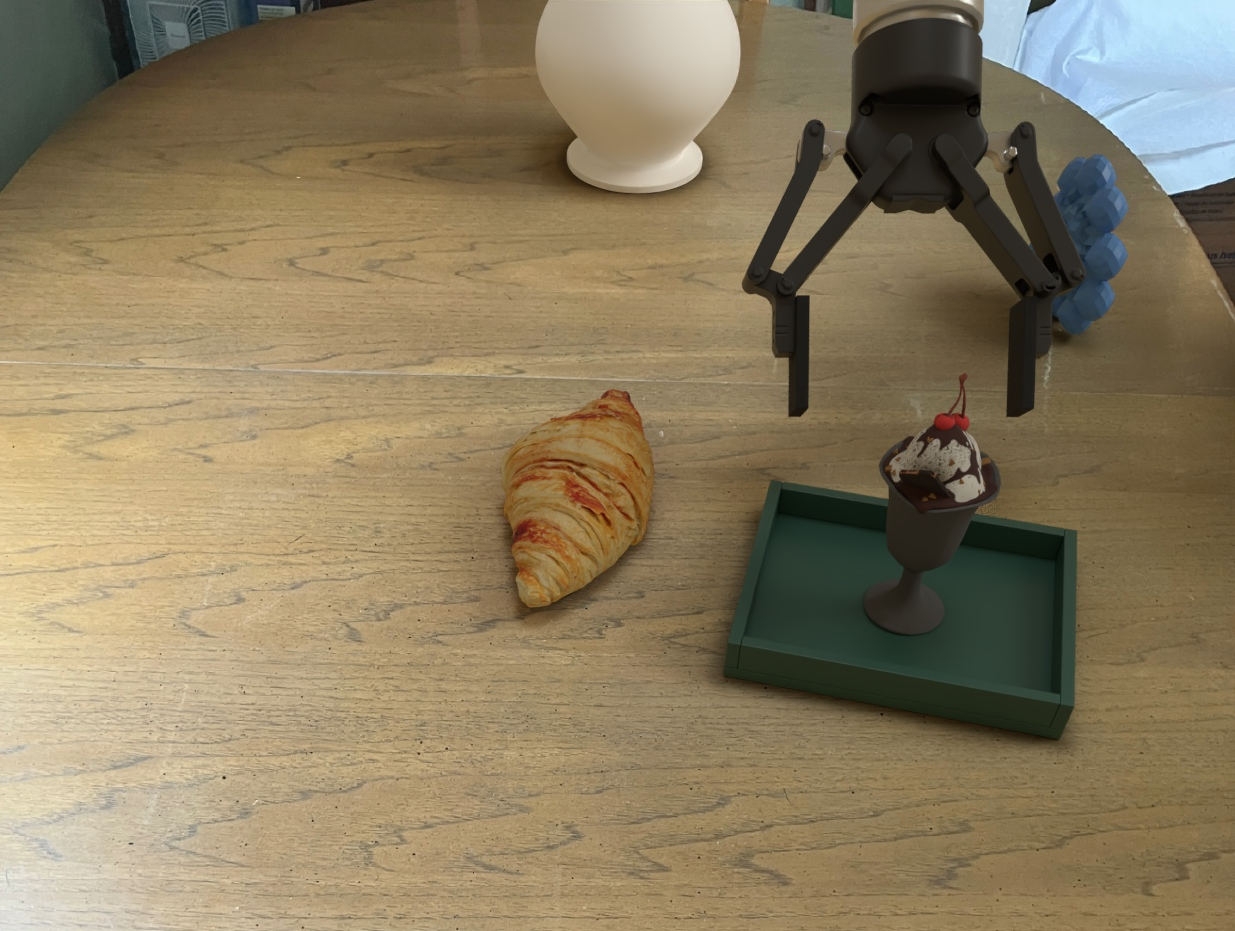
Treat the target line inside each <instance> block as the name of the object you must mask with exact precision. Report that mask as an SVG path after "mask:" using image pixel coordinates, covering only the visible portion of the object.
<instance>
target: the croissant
mask: <svg viewBox="0 0 1235 931" xmlns="http://www.w3.org/2000/svg"><path fill="white" fill-rule="evenodd" d="M549 419H550V420H548V421H546V422H544V423H542V424H539V425H538V426H536V427H534V428H532V430H531V431H530V432H529V433H526V434H525V435H523V436H521V437H520V438H518V439H517V441H515V443H514V444H513V445H512V446H511V448H510V449H509V450H507V451H506V452H505V454H504V455H503V457H502V459H501V462H500V465H499V472H500V477H501V478H500V486H501V488H502V490H503V492H504V494H505V499H504V505H503V517H505V518H506V519H507V521H508V523H509V524H510V527H511V530H512V532H513V534H512V542H511V550H510V551H511V555H512V557H513V559H514V561H515V566H516V567H517V569H518V572H517V573H516V576H515V582H516V586H517V590H518V597H519V599H520V600H521V602H522V603H523V604H525V605H526V606H527V607H528V608H542V607H547V606H550V605H551V604H552V603H556V602H558V601H560V600H561V599H563V598H564V597H566V596H567V595H569V594H571V593H574V592H576V591H578V590H581V589H583V588H584V587H586V586H587V585H588V584H589V583H592V581H593V580H594V579H595V578H596V577H598V576H600V575H601V574H602V573H604V572H606V571H607V570H608V569H610V568H612V567H613V566H614V565H616V562H618V560H619V559H620V558H621V556H623V555H624V553H625V552H626V551H627V550H628V548H629V547H630V546H631V547H634V546H636V545H637V544H639V543H640V542H641V541H642V540H644V537H645V534H646V531H647V528H648V522H649V517H650V516H649V515H650V514H651V513H650V512H651V505H652V501H653V500H652V499H653V492H654V483H655V474H656V471H655V464H654V461H653V449H652V448H651V446H650V442H649V441H648V440H647V438H646V437H645V430H644V427H643V419H642V417H641V415H640V413H639V412H638V410H637V408H636V407H635V404H634V403H633V402H632V399H631V395H630V393H629V391H627V390H619V389H615V388H609V389H608V390H606V391H605V392H604V393H603V394H602V395H601V396H600V398H598V399H595V400H592V401H590V402H588V403H587V404H586V405H584V406H583V407H582V408H580V409H579V410H578V411H574V412H572V413H569V414H568V415H563V416H560V417H555V416H554V417H551V418H549Z"/></svg>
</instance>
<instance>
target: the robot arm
mask: <svg viewBox="0 0 1235 931" xmlns="http://www.w3.org/2000/svg"><path fill="white" fill-rule="evenodd" d="M984 22H985V0H852V30H851V31H852V32H851V36H852V37H851V39H852V42H853V45H854V46H855V50H854V51H853V53H852V56H851V85H850V86H851V87H850V88H851V92H850V93H851V94H850V96H851V98H850V105H851V106H850V124H849V129H848V131H844V130H835V129H830V128H829V129H828V128H825V125H824V123H823V121H821V120H819V119H818V118H817V119H813V118H812V119H811V120H809V121H807V123H806V124H805V126H804V128H803V130H802V133H801V135H800V137H799V140H798V142H797V146H796V154H795V162H794V171H793V175H792V176H791V179H790V181H789V182H788V185H787V187H786V189H785V190H784V192H783V195H782V197H781V199H780V200H779V203H778V205H777V207H776V210H775V212H774V214H773V216H772V217H771V220H770V222H769V224H768V226H767V228H766V230H765V232H764V234H763V236H762V238H761V241H760V242H759V244H758V246H757V249H756V250H755V253H754V255H753V256H752V259H751V261H750V263H749V265H748V267H747V270H746V272H745V274H744V276H743V279H742V281H741V288H742V290H743V292H745V294H747V295H757V296H759V297H762V298H764V299H766V300H767V301H768V302H769V304H770V306H771V351H772V354H773V357H774V359H788V390H787V391H788V394H787V395H788V399H787V401H788V402H787V404H788V406H787V418H801V417H802V416H803V415H804V414H805V413H806V412H807V411H808V410H809V405H810V404H809V403H810V402H809V401H810V400H809V398H810V396H809V395H810V324H811V323H810V322H811V320H810V319H811V318H810V316H811V315H810V314H811V310H810V308H811V307H810V306H811V295H809V294H797V292H798V291H799V290H800V289H801V287H802V286H803V285H804V284H805V283H806V281H807V280H808V279H809V278H810V277H811V275H812V274H813V273H814V272H815V271H816V269H817V268H818V267H819V266H820V264H821V263H822V262H823V261H824V259H825V258H826V257H827V256H828V255H829V253H830V252H831V251H832V250H833V249H834V247H835V246H836V245H837V244H838V243H839V241H841V239H842V238H843V237H844V235H845V234H846V233H847V231H848V230H850V228H851V227H852V226H853V224H854V223H855V222H856V221H857V220H858V219H859V218H860V217H861V216H862V214H863V213H864V211H865V210H866V209H867V208H868V207H869V206H870V204H871V203H872V204H873V205H874V206H875V207H877V209H880V210H883V214H900V213H902V212H906V211H911V212H915V213H919V214H922V215H924V214H925V215H928V214H930V215H932V214H933V215H935V213H936V212H937V211H940V210H941V209H944V208H945V210H946V211H947V212H948V214H949V215H950V216H951V217H952V219H953V220H954V221H956V222H957V223H960V224H962V226H963V227H964V228H965V229H966V231H967V232H968V233H969V234H970V236H971V237H972V239H973V240H974V241H975V242H976V243H977V245H978V246H979V247H980V249H981V251H982V252H984V254H985V255H986V256H987V258H988V259H989V260H990V261H991V263H992V264H993V266H994V267H995V268H996V269H997V271H998V272H999V273H1000V275H1001V276H1002V278H1004V280H1005V282H1007V284H1008V285H1009V286H1010V287H1011V289H1012V290H1013V292H1014V293H1015V294H1016V295H1017V296H1018V298H1019V300H1018V301H1017V302H1016V303H1015V304H1013V305H1012V306H1011V307H1010V308H1009V309H1008V338H1007V339H1008V342H1007V348H1008V349H1007V376H1006V378H1007V380H1006V408H1005V409H1006V411H1005V412H1006V413H1005V414H1006V415H1005V418H1020V417H1021V416H1024V415H1025V414H1027V413H1029V412H1031V411H1033V410H1035V403H1036V402H1035V400H1036V369H1037V368H1036V367H1037V366H1036V365H1037V360H1039V359H1041V358H1043V357H1044V356H1046V355H1047V354H1048V353H1049V351H1050V349H1051V347H1052V333H1053V332H1052V331H1053V329H1052V327H1053V314H1052V305H1053V300H1054V298H1055V297H1058V296H1063V295H1065V294H1067V293H1068V292H1070V291H1071V290H1072V289H1074V288H1075V287H1077V286H1078V285H1079V284H1080V283H1082V282H1083V281H1084V280H1085V278H1086V269H1085V267H1084V265H1083V262H1082V260H1081V258H1080V256H1079V253H1078V251H1077V249H1076V247H1075V244H1074V242H1073V240H1072V237H1071V235H1070V233H1069V231H1068V228H1067V226H1066V224H1065V221H1064V219H1063V217H1062V215H1061V212H1060V210H1059V208H1058V205H1057V203H1056V201H1055V199H1054V194H1053V192H1052V189H1051V187H1050V185H1049V183H1048V181H1047V178H1046V176H1045V174H1044V171H1043V169H1042V167H1041V165H1040V162H1039V158H1038V157H1039V156H1038V145H1037V133H1036V132H1037V131H1036V127H1035V125H1034V124H1033V123H1032V122H1029V121H1022V122H1020V123H1019V124H1017V126H1016V127H1015V128H1014V129H1012V130H1004V131H994V132H987V130H986V128H985V127H984V124H983V121H982V96H983V94H982V93H983V92H982V89H983V56H984V55H983V53H984V50H983V49H984V48H983V47H984V43H983V39H982V37H981V36H980V33H981V31H982V30H983V27H984ZM838 156H842V159H843V161H844V162H845V164H846V166H847V167H848V169H849V170H850V172H851V173H852V174H853V176H854V177H855V179H856V180H857V182H856V183H855V184H854V185H853V187H852V188H851V189H850V191H849V192H848V194H847V195H846V196H845V197H844V199H843V200H842V201H841V203H839V205H837V207H836V208H835V209H834V210H833V212H832V213H831V214H830V216H828V218H827V219H826V221H825V222H824V223H823V224H822V225H821V226H820V228H819V229H818V230H817V231H816V233H815V234H814V235H813V236H812V237H811V238H810V240H809V241H808V242H807V244H806V245H804V247H803V248H802V249H801V250H800V252H799V253H798V254H797V256H795V258H794V259H793V260H792V262H791V263H790V264H789V266H787V268H786V269H785V270H784V271H783V272H782V273H781V272H779V271H776V270H774V269H772V267H773V265H774V263H775V261H776V258H777V256H778V254H779V252H780V250H781V248H782V247H783V244H784V242H785V240H786V238H787V236H788V234H789V231H790V230H791V228H792V225H793V223H794V222H795V219H796V217H797V215H798V213H799V211H800V209H801V207H802V205H803V204H804V201H805V199H806V197H807V195H808V193H809V191H810V189H811V186H812V184H813V182H814V180H815V178H816V176H817V174H818V172H824V171H826V170H828V168H829V167H830V166H831V164H832V162H833V160H834V159H835V158H836V157H838ZM984 157H985V158H987V159H988V158H989V159H990V160H991V161H992V163H993V166H994V169H995V171H996V172H997V173H1001V174H1003V180H1004V182H1005V183H1004V184H1005V187H1006V190H1007V192H1008V194H1009V197H1010V200H1011V201H1012V203H1013V206H1014V208H1015V211H1016V213H1017V215H1018V217H1019V220H1020V222H1021V223H1022V226H1023V229H1024V231H1025V233H1026V235H1027V238H1028V240H1029V242H1030V243H1031V244H1032V247H1033V249H1034V251H1035V253H1034V252H1033V250H1032V249H1031V248H1030V246H1029V244H1028V242H1027V241H1026V240H1025V238H1024V237H1023V235H1022V234H1020V232H1019V231H1018V229H1017V228H1016V227H1015V225H1014V224H1013V223H1012V222H1011V220H1010V219H1009V217H1007V215H1006V214H1005V213H1004V211H1003V209H1001V207H1000V206H999V205H998V204H997V202H996V201H995V200H994V198H993V197H992V195H991V189H990V186H989V185H988V183H987V182H986V181H985V180H984V178H983V177H982V176H981V175H980V173H979V172H978V170H977V167H978V165H979V164H980V163H981V161H982V160H983V158H984Z"/></svg>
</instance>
